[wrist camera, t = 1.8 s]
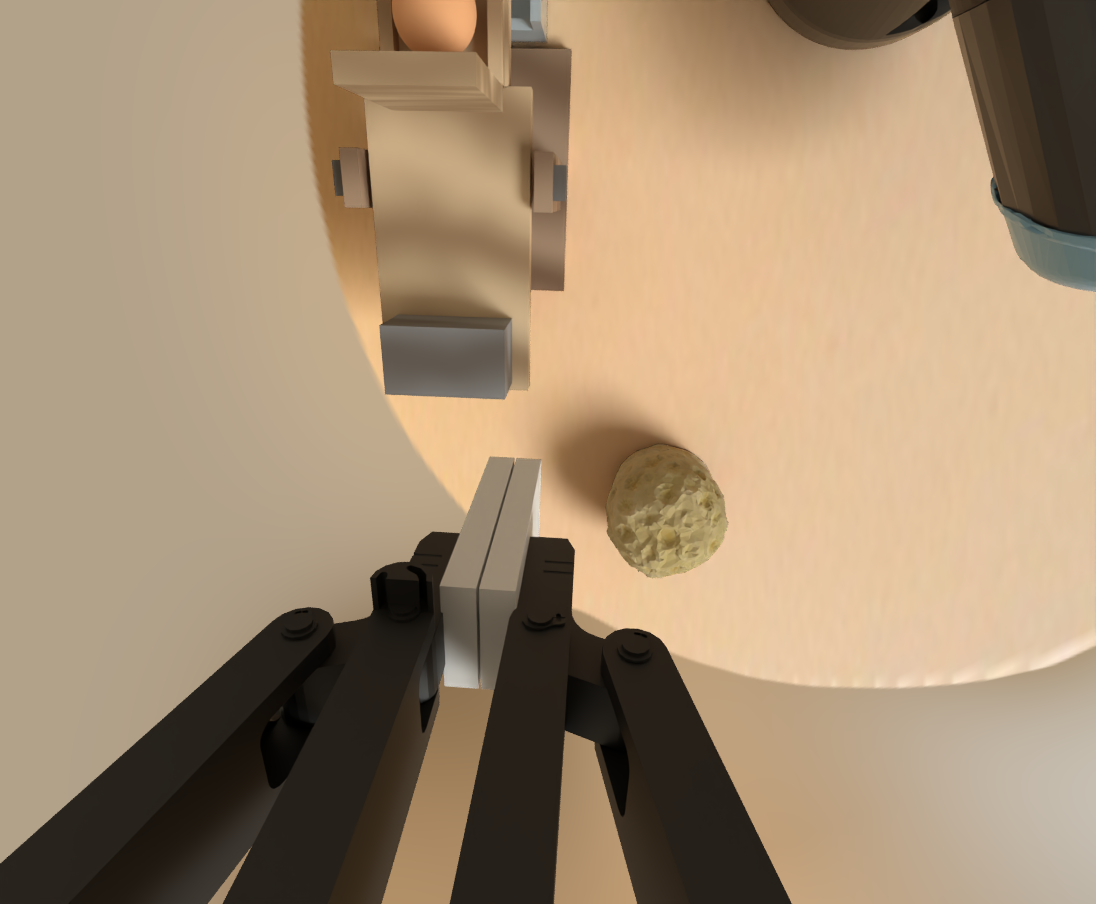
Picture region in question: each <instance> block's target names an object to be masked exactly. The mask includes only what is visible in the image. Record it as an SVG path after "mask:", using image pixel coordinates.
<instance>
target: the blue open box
mask: <svg viewBox="0 0 1096 904" xmlns="http://www.w3.org/2000/svg"><path fill="white" fill-rule="evenodd" d="M547 2H548V0H511V42H547Z"/></svg>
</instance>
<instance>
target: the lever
mask: <svg viewBox="0 0 1096 904" xmlns="http://www.w3.org/2000/svg"><path fill="white" fill-rule="evenodd" d="M475 4H476V11H477V19H476V27H475V32H474V35H473V37H472V39H471V42H470V43H469V45H468V46H467V48H466V49H465V50H464V51H463V52H434V51H412V50H411V49H410V48H409V47H408V46H407V45H406V44H405V43H404V41H403V40H402V38H401V37H400V35H399V33H398V31H397V28H396V26H395V23H394V19H393V14H392V0H377V11H378V25H379V39H380V51H349V50H330V53H331V63H332V73H333V83H334V85H336V86H339V87H341V88H343V89H345V90H348V91H350V92H352V93H354V94H357V95H359V96H361V97H363V98H364V105H365V117H366V129H367V141H368V153H369V165H370V177H371V189H372V201H373V213H374V225H375V237H376V249H377V261H378V273H379V285H380V297H381V309H382V320H383V324H381V325H379V326H380V338H381V350H382V361H383V373H384V384H385V394H389V395H412V396H436V397H460V398H483V399H505V398H506V396H507V393H508V391H509V390H523V391H528V389H529V386H530V323H531V234H532V145H533V89H532V87H519V86H511V0H475Z"/></svg>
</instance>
